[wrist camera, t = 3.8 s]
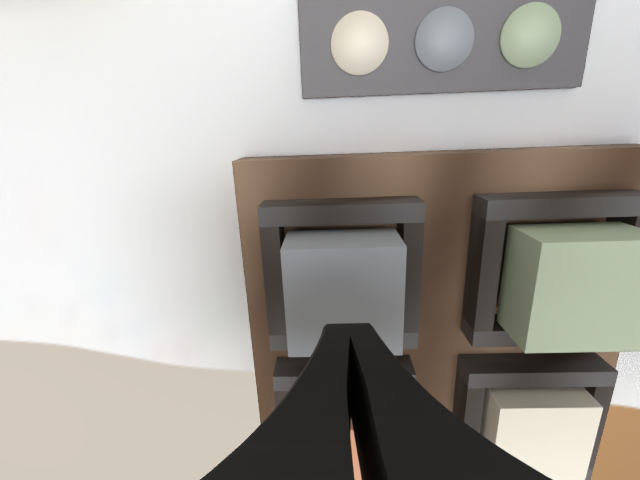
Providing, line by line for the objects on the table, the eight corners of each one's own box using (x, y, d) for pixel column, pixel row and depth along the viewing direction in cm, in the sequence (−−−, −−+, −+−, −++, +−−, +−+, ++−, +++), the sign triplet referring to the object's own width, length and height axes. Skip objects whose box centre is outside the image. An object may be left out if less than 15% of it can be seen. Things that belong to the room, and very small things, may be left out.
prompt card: (592, -20, 14) (604, -26, 14) (574, 87, 16) (584, 86, 15) (298, -5, 15) (297, -10, 14) (303, 98, 16) (302, 97, 15)
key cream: (567, 371, 18) (603, 407, 15) (553, 440, 19) (584, 483, 17) (478, 372, 18) (500, 408, 16) (470, 441, 19) (489, 483, 17)
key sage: (619, 221, 14) (675, 239, 12) (597, 318, 16) (644, 351, 13) (508, 224, 14) (542, 242, 12) (496, 320, 16) (524, 353, 13)
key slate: (394, 228, 15) (406, 246, 12) (391, 322, 16) (402, 355, 14) (287, 230, 15) (280, 250, 12) (293, 324, 16) (288, 357, 14)
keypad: (632, 143, 16) (709, 148, 13) (564, 447, 22) (607, 505, 18) (243, 157, 17) (221, 165, 14) (272, 450, 22) (262, 506, 19)
